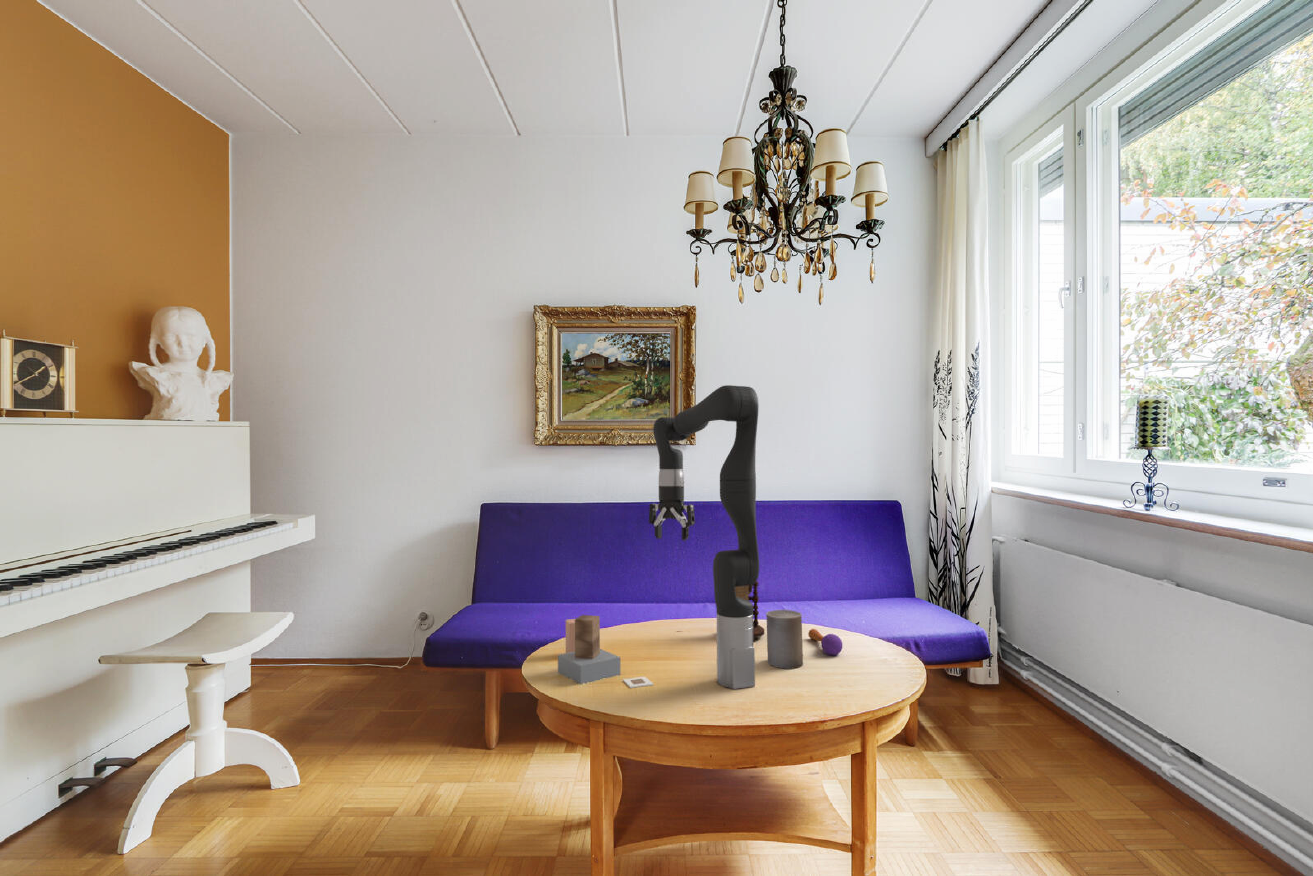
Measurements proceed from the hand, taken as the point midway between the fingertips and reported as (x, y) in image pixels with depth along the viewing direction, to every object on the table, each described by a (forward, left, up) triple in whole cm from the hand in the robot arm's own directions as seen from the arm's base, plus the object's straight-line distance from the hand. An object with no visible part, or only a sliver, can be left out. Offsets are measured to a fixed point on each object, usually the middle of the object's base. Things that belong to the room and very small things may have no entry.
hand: (671, 539), depth 191 cm
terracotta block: (+8, +27, -33) cm, 43 cm away
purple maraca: (-12, -44, -34) cm, 57 cm away
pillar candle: (-21, -25, -33) cm, 47 cm away
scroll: (+8, -27, -33) cm, 44 cm away
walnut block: (-9, +28, -28) cm, 41 cm away
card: (-21, +18, -33) cm, 43 cm away
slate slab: (-9, +28, -34) cm, 44 cm away
